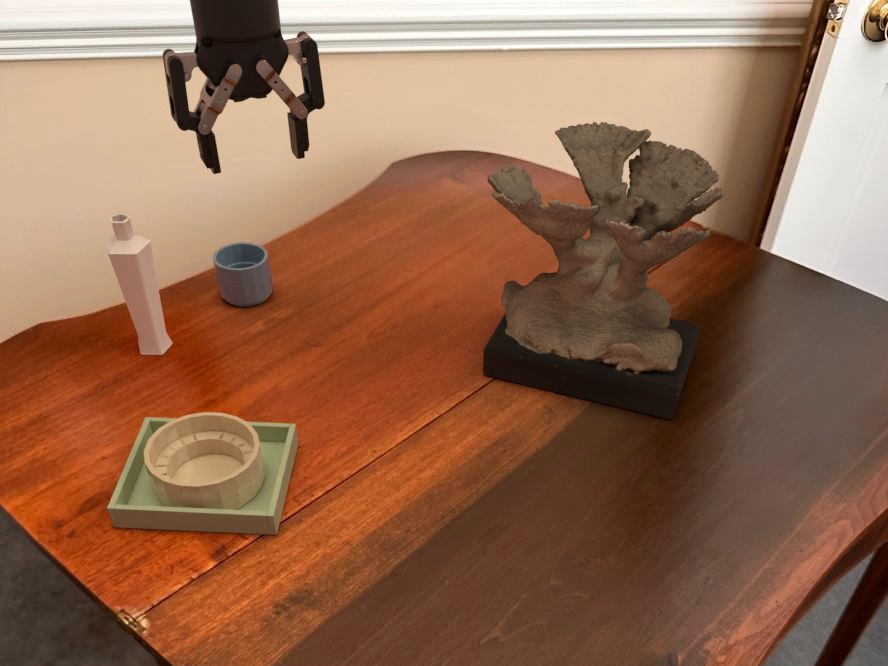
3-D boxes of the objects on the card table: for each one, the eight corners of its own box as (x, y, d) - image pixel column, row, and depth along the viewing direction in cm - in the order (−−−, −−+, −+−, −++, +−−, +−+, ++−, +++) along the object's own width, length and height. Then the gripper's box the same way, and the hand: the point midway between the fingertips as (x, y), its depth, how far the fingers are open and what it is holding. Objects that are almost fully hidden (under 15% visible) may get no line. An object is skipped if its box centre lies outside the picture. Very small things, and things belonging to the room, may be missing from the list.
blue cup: (215, 307, 105) (207, 268, 101) (226, 279, 109) (219, 241, 105) (268, 309, 105) (262, 270, 101) (277, 281, 109) (271, 243, 105)
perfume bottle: (124, 349, 99) (85, 220, 87) (153, 331, 101) (119, 204, 90) (152, 363, 97) (116, 234, 86) (181, 345, 100) (150, 217, 88)
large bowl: (142, 518, 82) (130, 483, 78) (170, 445, 88) (160, 409, 85) (254, 524, 82) (247, 488, 78) (274, 450, 88) (268, 414, 85)
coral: (452, 368, 98) (458, 174, 82) (511, 280, 110) (527, 97, 94) (670, 424, 92) (723, 229, 76) (707, 326, 105) (760, 139, 88)
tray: (114, 527, 81) (106, 508, 79) (151, 436, 89) (145, 416, 87) (276, 535, 81) (273, 515, 79) (298, 442, 89) (295, 423, 87)
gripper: (295, -53, 78) (312, 137, 90) (134, -38, 74) (176, 159, 86) (324, -30, 74) (338, 166, 86) (155, -11, 69) (196, 192, 82)
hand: (257, 163), depth 86 cm, fingers open, 8 cm apart
